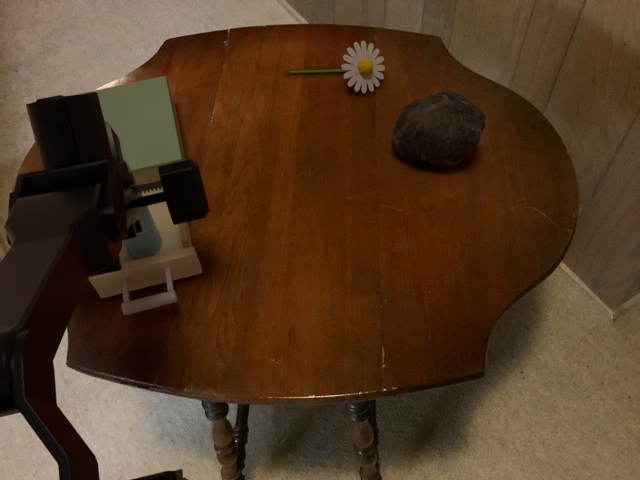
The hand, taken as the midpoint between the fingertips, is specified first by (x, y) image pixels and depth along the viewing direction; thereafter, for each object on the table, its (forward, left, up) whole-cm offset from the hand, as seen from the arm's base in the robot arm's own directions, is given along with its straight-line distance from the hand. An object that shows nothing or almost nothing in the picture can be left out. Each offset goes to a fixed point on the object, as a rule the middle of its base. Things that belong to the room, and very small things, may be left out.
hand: (127, 202), depth 70 cm
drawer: (0, -1, -8) cm, 8 cm away
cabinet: (+1, +16, -9) cm, 19 cm away
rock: (+41, +1, -9) cm, 42 cm away
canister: (0, -1, -7) cm, 7 cm away
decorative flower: (+33, +20, -9) cm, 40 cm away
